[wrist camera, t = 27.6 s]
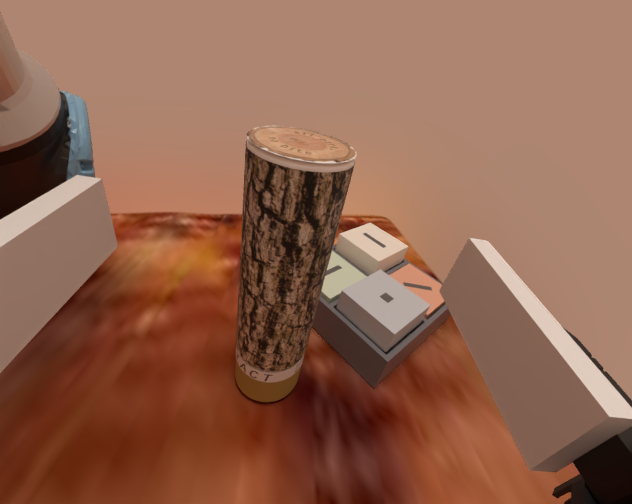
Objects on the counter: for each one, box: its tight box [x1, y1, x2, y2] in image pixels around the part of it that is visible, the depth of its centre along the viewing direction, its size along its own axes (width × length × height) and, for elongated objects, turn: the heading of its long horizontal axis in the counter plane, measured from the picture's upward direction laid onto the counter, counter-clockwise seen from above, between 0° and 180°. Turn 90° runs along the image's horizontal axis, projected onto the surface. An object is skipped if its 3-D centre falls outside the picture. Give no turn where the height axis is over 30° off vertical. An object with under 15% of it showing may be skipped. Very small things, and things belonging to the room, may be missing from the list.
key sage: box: [320, 251, 367, 304], centre depth 41 cm, size 8×8×3 cm
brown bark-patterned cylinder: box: [235, 126, 357, 402], centre depth 26 cm, size 7×7×25 cm
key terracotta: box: [389, 263, 446, 320], centre depth 42 cm, size 8×8×3 cm
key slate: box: [336, 269, 431, 353], centre depth 36 cm, size 8×8×3 cm
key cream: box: [335, 223, 409, 275], centre depth 46 cm, size 8×8×3 cm
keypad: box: [312, 244, 451, 388], centre depth 43 cm, size 18×18×5 cm
